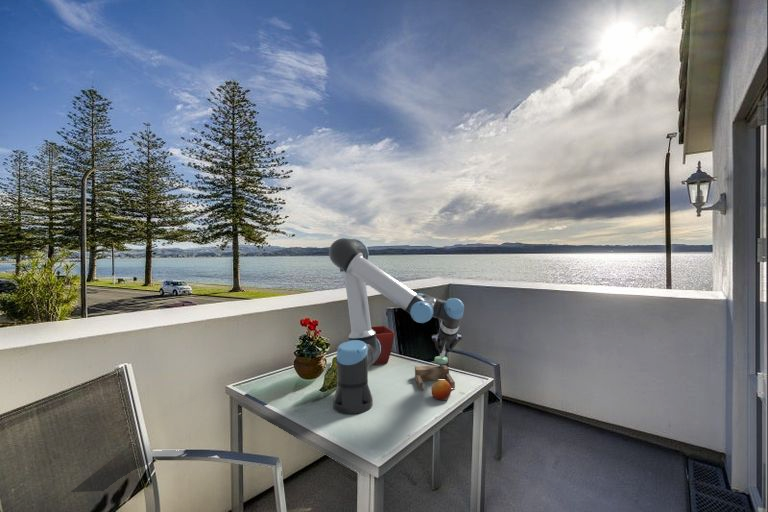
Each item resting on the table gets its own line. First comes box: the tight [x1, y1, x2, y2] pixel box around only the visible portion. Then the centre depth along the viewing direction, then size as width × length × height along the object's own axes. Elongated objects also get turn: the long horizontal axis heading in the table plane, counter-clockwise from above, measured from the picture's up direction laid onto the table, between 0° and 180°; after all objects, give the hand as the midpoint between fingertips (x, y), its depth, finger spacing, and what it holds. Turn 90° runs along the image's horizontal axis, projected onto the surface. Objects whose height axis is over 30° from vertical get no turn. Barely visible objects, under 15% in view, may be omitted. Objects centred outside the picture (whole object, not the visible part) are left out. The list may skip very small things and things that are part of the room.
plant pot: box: [371, 325, 395, 366], centre depth 179 cm, size 19×19×17 cm
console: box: [414, 364, 450, 381], centre depth 153 cm, size 15×5×5 cm, turn 92°
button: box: [434, 355, 449, 368], centre depth 153 cm, size 6×6×7 cm
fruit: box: [430, 380, 452, 401], centre depth 132 cm, size 8×8×8 cm
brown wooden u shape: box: [415, 372, 456, 391], centre depth 145 cm, size 15×10×3 cm
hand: (441, 355), depth 153 cm, fingers closed
